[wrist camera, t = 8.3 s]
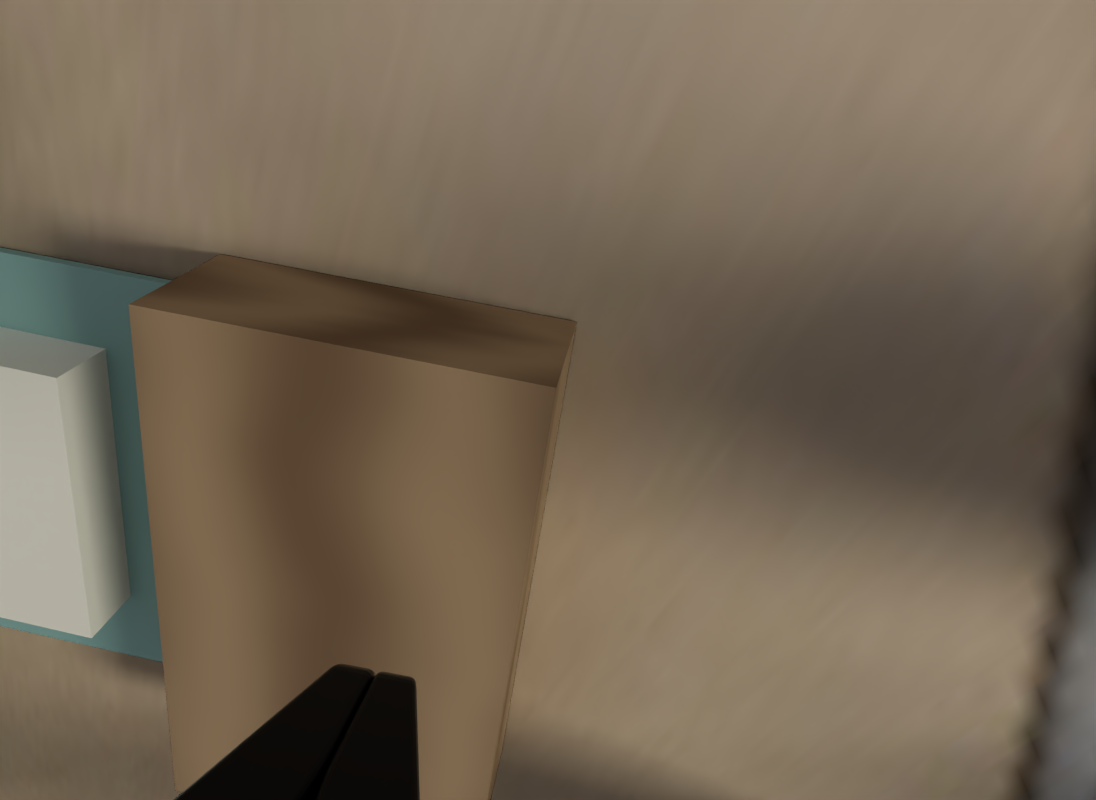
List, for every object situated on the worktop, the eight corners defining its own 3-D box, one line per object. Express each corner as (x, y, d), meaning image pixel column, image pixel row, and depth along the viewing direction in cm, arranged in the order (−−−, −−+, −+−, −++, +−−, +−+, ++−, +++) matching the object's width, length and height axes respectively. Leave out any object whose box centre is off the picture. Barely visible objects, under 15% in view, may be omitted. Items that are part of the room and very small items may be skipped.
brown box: (576, 322, 21) (556, 387, 17) (501, 751, 28) (476, 860, 24) (220, 254, 21) (128, 304, 18) (238, 692, 28) (174, 790, 25)
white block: (-160, 331, 21) (-95, 306, 23) (-91, 596, 25) (-41, 557, 27) (56, 377, 21) (105, 348, 23) (91, 638, 25) (130, 596, 27)
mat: (239, 293, 22) (234, 297, 21) (251, 674, 28) (246, 680, 28) (-75, 232, 22) (-84, 235, 22) (6, 620, 28) (0, 625, 28)
